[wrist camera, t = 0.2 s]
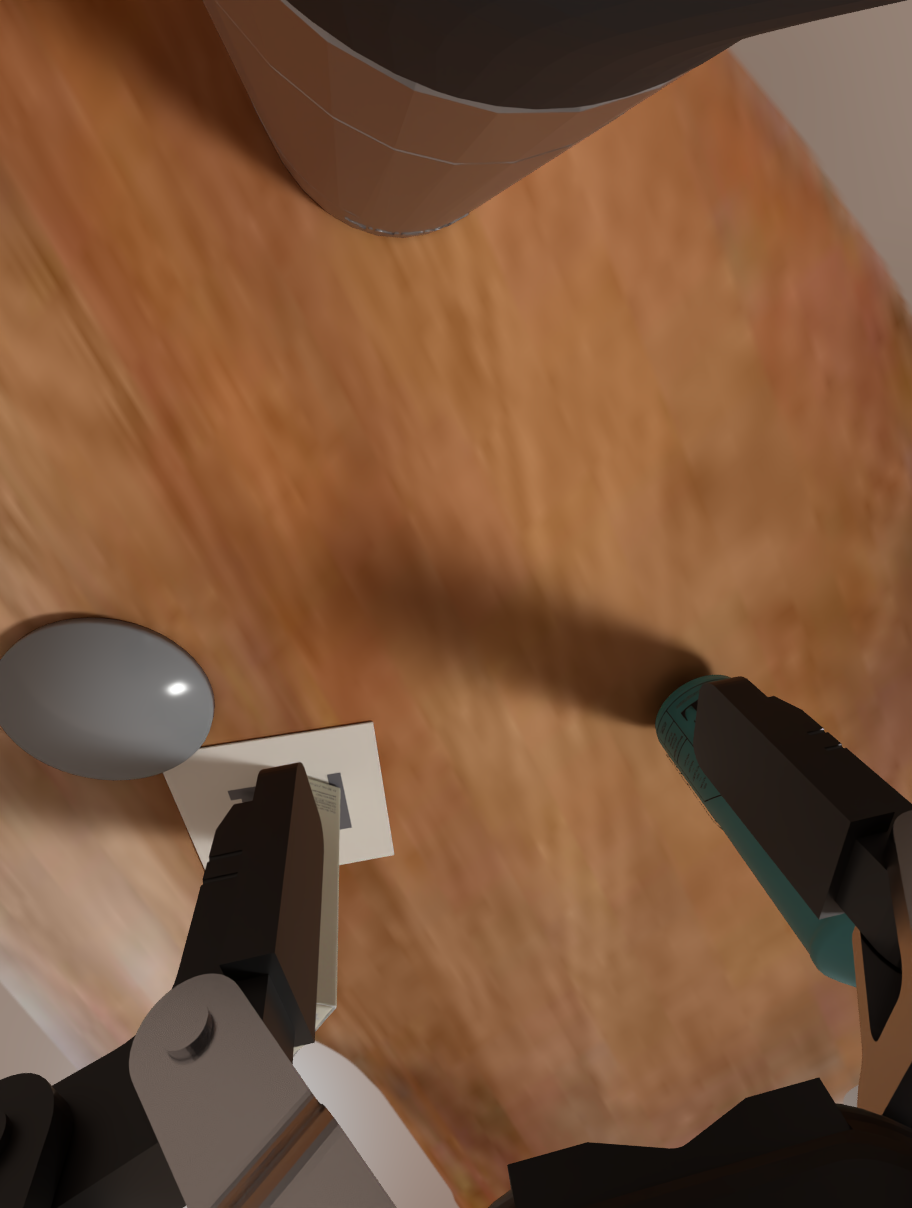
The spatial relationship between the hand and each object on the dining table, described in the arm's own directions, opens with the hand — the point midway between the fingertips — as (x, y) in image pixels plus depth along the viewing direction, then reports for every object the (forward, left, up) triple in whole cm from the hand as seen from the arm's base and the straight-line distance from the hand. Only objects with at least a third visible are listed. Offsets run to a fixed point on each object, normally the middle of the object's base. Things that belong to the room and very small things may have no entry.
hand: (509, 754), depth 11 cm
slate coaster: (+10, -17, -17) cm, 26 cm away
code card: (+20, -10, -17) cm, 28 cm away
